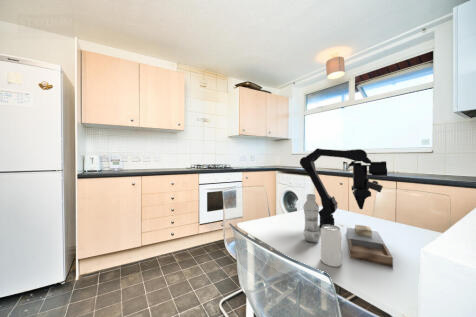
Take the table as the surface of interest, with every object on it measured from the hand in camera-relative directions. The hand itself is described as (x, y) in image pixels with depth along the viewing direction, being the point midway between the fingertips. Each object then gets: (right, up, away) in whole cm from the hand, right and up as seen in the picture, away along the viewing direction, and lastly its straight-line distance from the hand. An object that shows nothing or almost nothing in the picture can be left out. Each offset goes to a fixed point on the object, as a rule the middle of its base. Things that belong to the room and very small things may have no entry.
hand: (360, 208), depth 89 cm
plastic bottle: (-27, -12, -8) cm, 30 cm away
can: (-27, -12, -25) cm, 39 cm away
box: (-11, -12, -21) cm, 26 cm away
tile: (-4, -9, -8) cm, 12 cm away
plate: (-5, -12, -9) cm, 16 cm away
